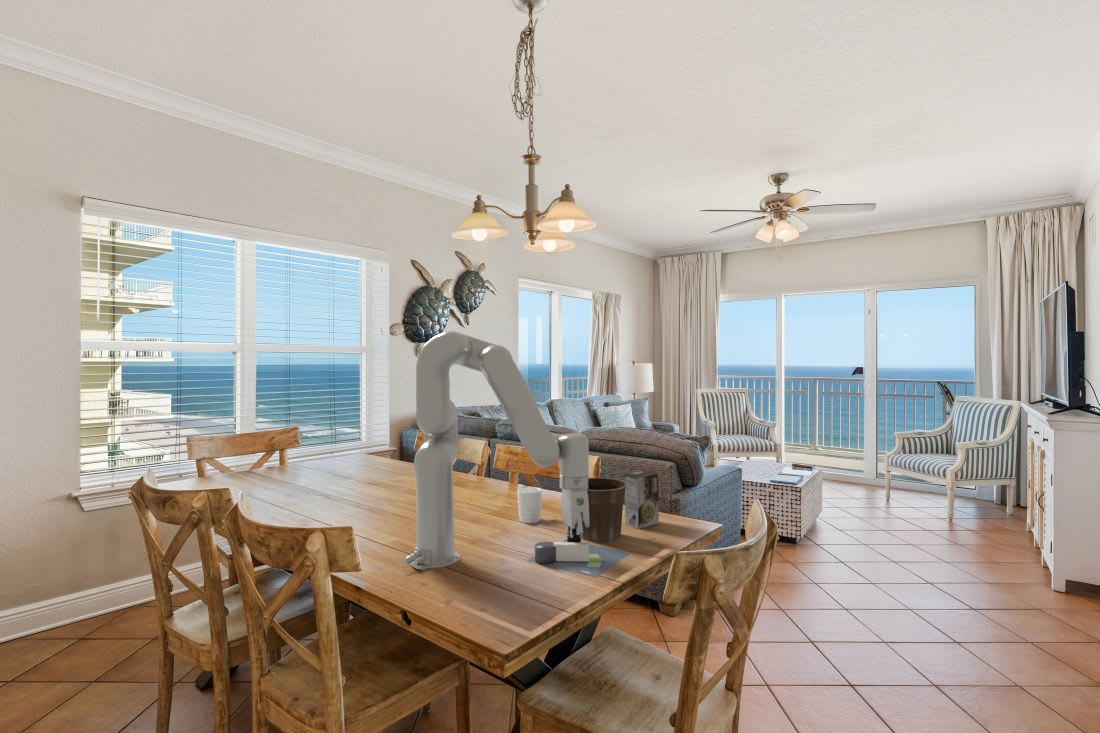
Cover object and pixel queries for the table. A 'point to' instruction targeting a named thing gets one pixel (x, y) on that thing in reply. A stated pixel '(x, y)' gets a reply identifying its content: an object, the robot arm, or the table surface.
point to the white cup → (529, 504)
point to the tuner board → (590, 567)
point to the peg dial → (562, 552)
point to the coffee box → (641, 499)
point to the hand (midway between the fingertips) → (574, 551)
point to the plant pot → (604, 509)
